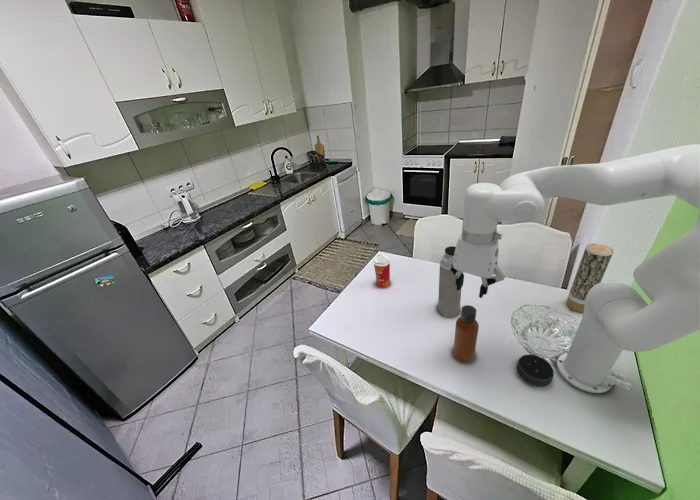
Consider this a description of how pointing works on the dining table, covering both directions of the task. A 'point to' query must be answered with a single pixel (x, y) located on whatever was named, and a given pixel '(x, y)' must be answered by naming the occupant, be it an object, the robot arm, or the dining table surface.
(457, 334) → the sauce bottle
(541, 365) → the smart speaker
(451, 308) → the thermos bottle
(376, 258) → the paper cup
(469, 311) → the cap
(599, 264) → the paper tube
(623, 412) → the dining table surface
